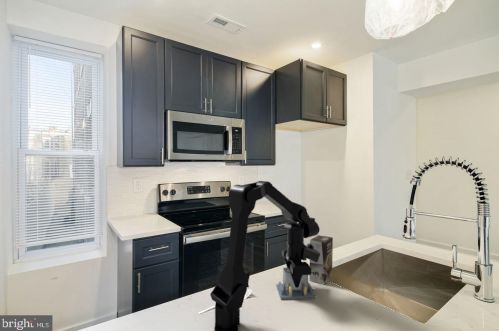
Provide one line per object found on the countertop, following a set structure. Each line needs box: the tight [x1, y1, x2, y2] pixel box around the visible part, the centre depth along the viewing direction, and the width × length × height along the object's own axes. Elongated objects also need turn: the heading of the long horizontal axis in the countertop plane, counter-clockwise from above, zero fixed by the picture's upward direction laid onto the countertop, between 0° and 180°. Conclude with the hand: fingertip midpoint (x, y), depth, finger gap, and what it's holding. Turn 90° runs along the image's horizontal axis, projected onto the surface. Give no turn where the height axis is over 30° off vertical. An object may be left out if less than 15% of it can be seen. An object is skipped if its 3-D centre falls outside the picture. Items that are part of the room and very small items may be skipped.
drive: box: [282, 267, 309, 290], centre depth 91 cm, size 8×4×6 cm, turn 94°
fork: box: [198, 287, 253, 315], centre depth 84 cm, size 3×20×2 cm, turn 126°
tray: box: [275, 281, 317, 300], centre depth 91 cm, size 12×9×4 cm
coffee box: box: [308, 234, 334, 285], centre depth 101 cm, size 9×6×16 cm
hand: (295, 284), depth 91 cm, fingers closed on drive, 4 cm apart
